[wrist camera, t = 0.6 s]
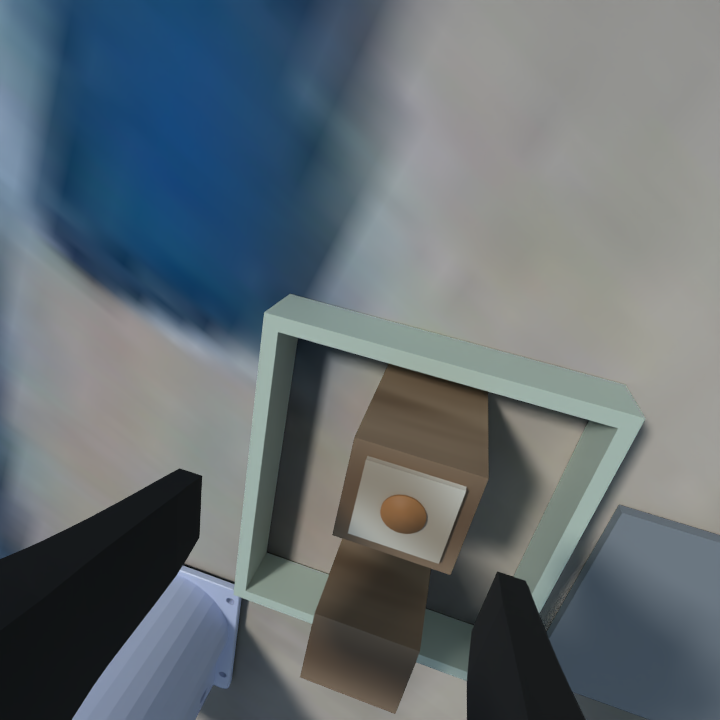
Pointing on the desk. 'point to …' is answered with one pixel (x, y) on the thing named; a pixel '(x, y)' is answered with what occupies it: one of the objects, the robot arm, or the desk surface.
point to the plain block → (368, 626)
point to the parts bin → (454, 363)
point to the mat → (645, 620)
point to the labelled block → (416, 469)
